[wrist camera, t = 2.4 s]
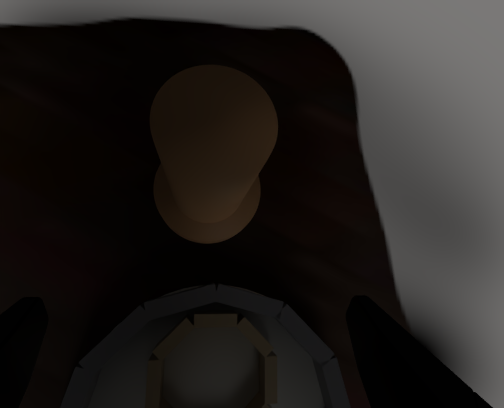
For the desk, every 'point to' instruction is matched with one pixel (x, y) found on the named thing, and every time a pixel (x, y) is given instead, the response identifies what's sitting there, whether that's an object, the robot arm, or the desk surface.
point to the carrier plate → (209, 356)
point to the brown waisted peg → (210, 150)
